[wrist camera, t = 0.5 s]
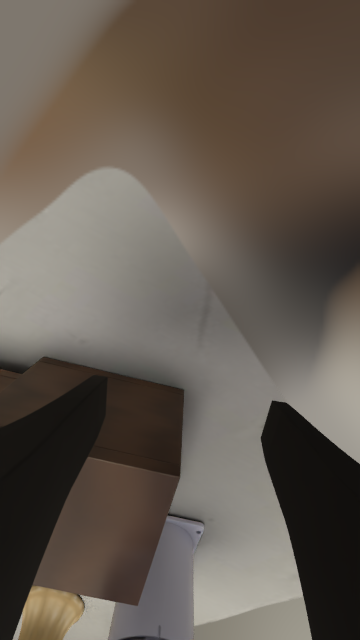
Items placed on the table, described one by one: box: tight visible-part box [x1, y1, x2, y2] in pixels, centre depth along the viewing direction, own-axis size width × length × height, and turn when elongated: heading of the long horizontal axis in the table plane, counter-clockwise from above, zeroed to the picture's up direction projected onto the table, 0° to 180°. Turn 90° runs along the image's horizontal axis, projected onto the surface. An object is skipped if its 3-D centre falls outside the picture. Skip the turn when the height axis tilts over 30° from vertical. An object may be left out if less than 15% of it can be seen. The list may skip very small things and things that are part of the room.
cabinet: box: [0, 357, 184, 606], centre depth 20 cm, size 13×13×9 cm
